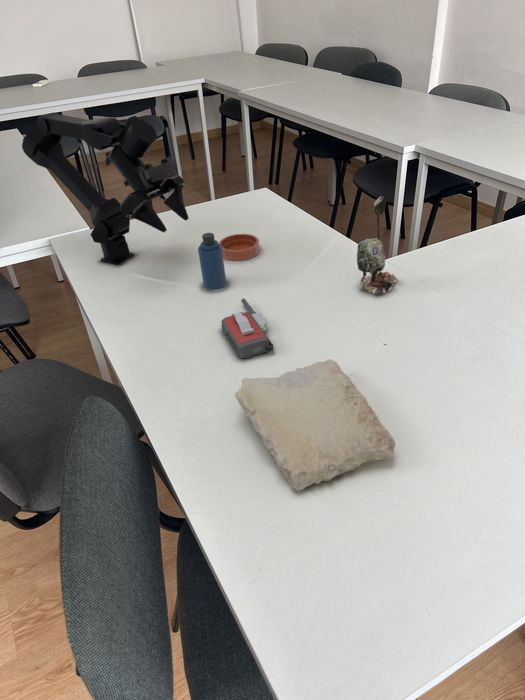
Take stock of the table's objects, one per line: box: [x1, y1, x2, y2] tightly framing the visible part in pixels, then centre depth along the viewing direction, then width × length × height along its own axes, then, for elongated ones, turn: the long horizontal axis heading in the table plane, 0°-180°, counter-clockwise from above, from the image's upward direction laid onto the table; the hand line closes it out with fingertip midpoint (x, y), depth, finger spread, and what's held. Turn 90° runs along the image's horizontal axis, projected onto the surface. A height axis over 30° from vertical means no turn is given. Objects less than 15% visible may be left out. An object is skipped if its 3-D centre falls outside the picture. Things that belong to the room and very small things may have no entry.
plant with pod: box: [356, 195, 399, 295], centre depth 114 cm, size 8×11×20 cm
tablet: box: [234, 359, 396, 491], centre depth 84 cm, size 24×8×20 cm
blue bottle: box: [197, 232, 227, 292], centre depth 121 cm, size 5×5×13 cm
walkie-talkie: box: [220, 298, 274, 359], centre depth 108 cm, size 9×4×20 cm
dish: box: [218, 233, 261, 262], centre depth 137 cm, size 10×10×3 cm
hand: (176, 225), depth 122 cm, fingers open, 9 cm apart
